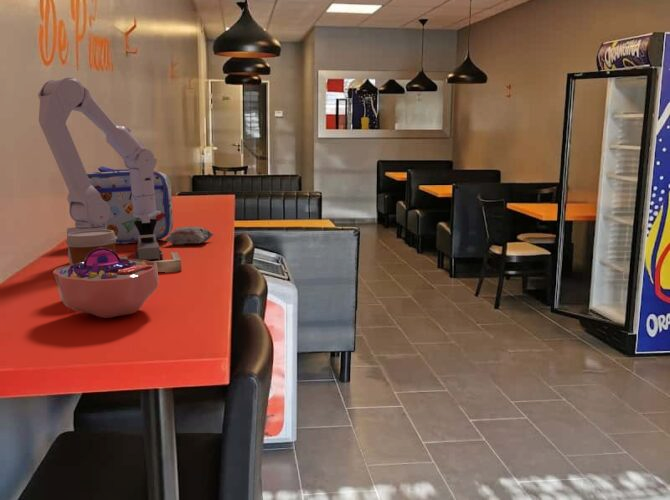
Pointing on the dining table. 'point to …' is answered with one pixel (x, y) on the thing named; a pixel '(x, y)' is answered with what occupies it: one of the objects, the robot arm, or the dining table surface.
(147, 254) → the grey box with knobs
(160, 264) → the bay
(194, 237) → the packaged food
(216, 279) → the dining table surface
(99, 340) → the dining table surface
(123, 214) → the lunch box
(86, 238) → the disposable coffee cup
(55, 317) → the dining table surface
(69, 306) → the cell model
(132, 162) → the robot arm
